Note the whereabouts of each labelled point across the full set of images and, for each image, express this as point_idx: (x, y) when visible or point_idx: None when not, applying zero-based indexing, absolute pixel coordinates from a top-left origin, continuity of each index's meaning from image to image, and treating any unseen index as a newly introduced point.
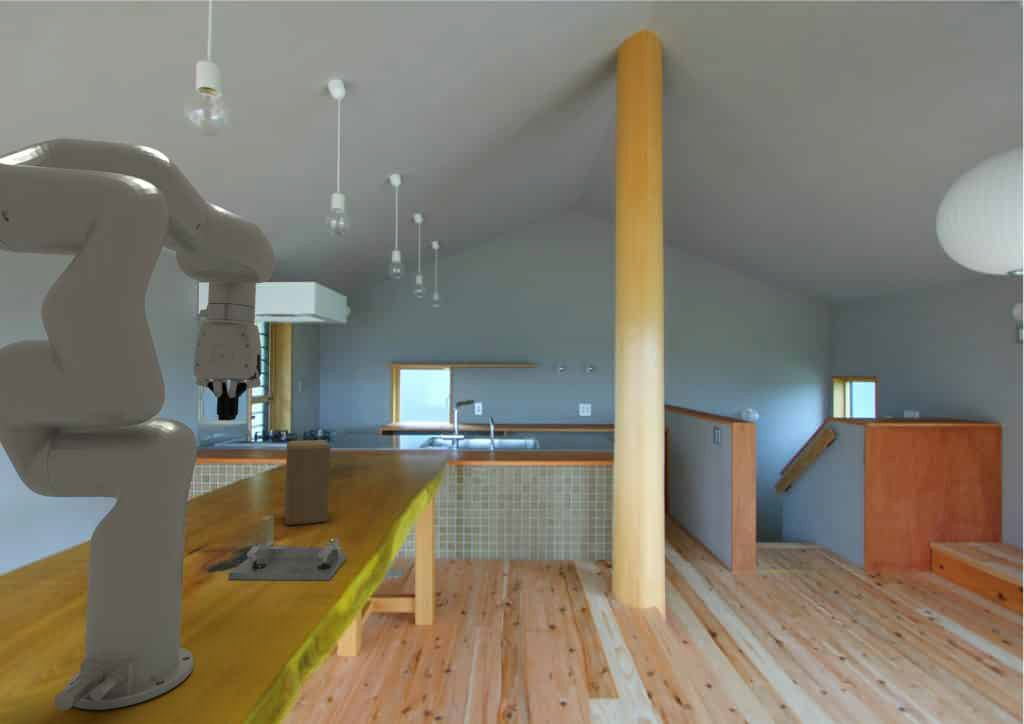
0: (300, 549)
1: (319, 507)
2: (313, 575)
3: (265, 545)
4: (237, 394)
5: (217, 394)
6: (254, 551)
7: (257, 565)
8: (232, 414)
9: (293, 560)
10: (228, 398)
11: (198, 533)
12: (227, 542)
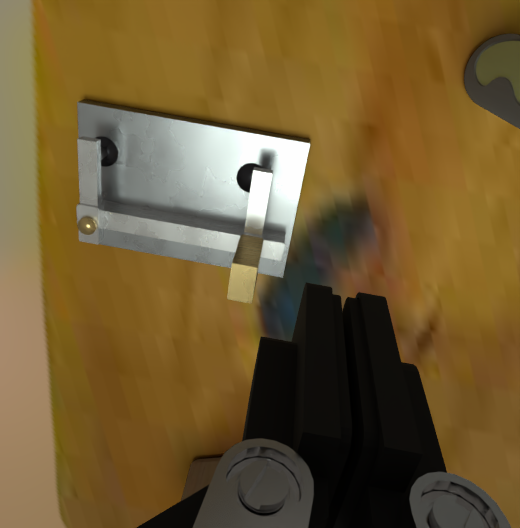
0: (166, 221)
1: (200, 485)
2: (116, 107)
3: (244, 229)
4: (198, 493)
5: (462, 520)
6: (256, 179)
7: None
8: (276, 340)
9: (185, 206)
10: (302, 427)
11: (441, 438)
12: None
